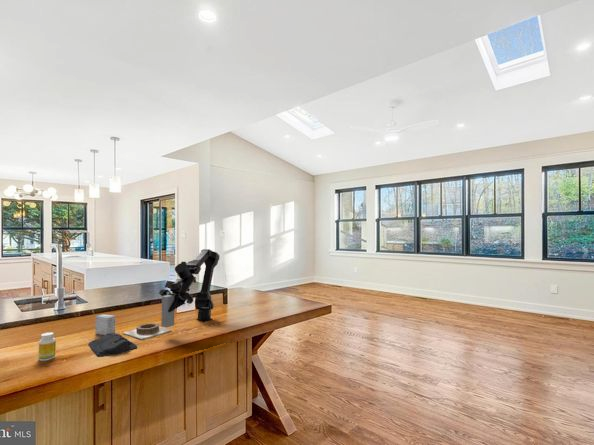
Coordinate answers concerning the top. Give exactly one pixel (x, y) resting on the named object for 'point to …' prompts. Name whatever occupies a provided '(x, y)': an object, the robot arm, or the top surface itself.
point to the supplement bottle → (47, 347)
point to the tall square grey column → (167, 316)
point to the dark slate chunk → (111, 345)
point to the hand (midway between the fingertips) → (165, 311)
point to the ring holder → (147, 331)
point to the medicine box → (105, 324)
